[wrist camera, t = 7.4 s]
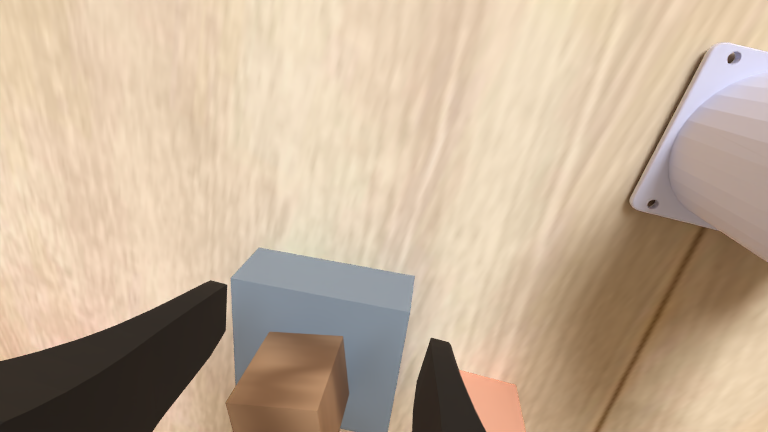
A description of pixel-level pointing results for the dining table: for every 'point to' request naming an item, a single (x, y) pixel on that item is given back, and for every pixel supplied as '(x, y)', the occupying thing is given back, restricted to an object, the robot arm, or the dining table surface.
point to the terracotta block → (494, 403)
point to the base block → (328, 321)
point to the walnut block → (292, 386)
